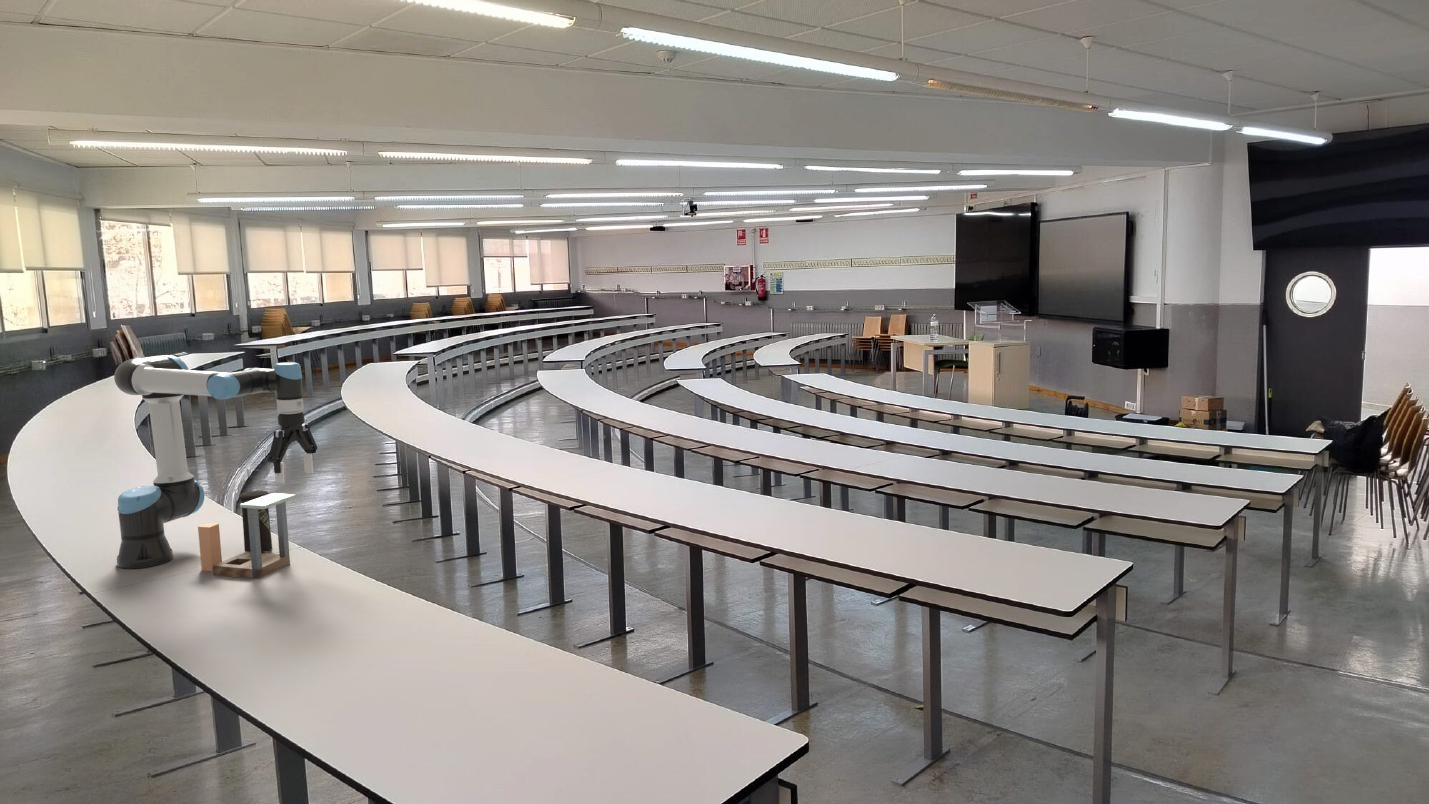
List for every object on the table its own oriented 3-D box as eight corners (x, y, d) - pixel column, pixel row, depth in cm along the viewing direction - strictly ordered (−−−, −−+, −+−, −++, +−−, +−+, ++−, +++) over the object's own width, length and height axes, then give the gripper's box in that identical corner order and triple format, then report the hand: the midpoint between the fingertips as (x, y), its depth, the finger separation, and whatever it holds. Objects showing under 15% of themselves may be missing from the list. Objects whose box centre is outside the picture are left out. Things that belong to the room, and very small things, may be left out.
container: (261, 555, 290) (256, 495, 287) (237, 553, 292) (232, 494, 289) (279, 547, 299) (274, 489, 296) (255, 545, 300) (251, 487, 297)
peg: (201, 570, 276) (197, 526, 274) (211, 566, 280) (207, 523, 278) (212, 571, 275) (208, 527, 273) (222, 566, 279) (218, 523, 277)
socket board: (213, 575, 271) (212, 565, 271) (246, 560, 285) (246, 551, 284) (258, 579, 268) (257, 569, 267) (290, 564, 281) (289, 555, 281)
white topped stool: (245, 577, 269) (239, 504, 265) (277, 563, 282) (272, 492, 279) (269, 580, 267) (264, 506, 264) (301, 565, 280) (296, 494, 277)
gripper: (273, 419, 265) (278, 488, 269) (326, 406, 289) (330, 470, 293) (251, 417, 267) (256, 486, 270) (306, 405, 291) (310, 468, 294)
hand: (295, 478), depth 281 cm, fingers open, 13 cm apart
